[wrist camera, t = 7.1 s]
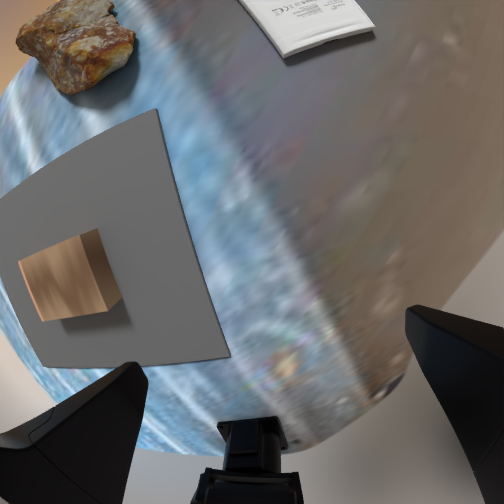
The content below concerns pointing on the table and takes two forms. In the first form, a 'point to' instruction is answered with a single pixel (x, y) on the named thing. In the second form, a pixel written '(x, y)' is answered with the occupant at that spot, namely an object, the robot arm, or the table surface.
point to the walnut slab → (71, 278)
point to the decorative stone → (77, 43)
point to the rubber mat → (114, 253)
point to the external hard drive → (307, 22)
